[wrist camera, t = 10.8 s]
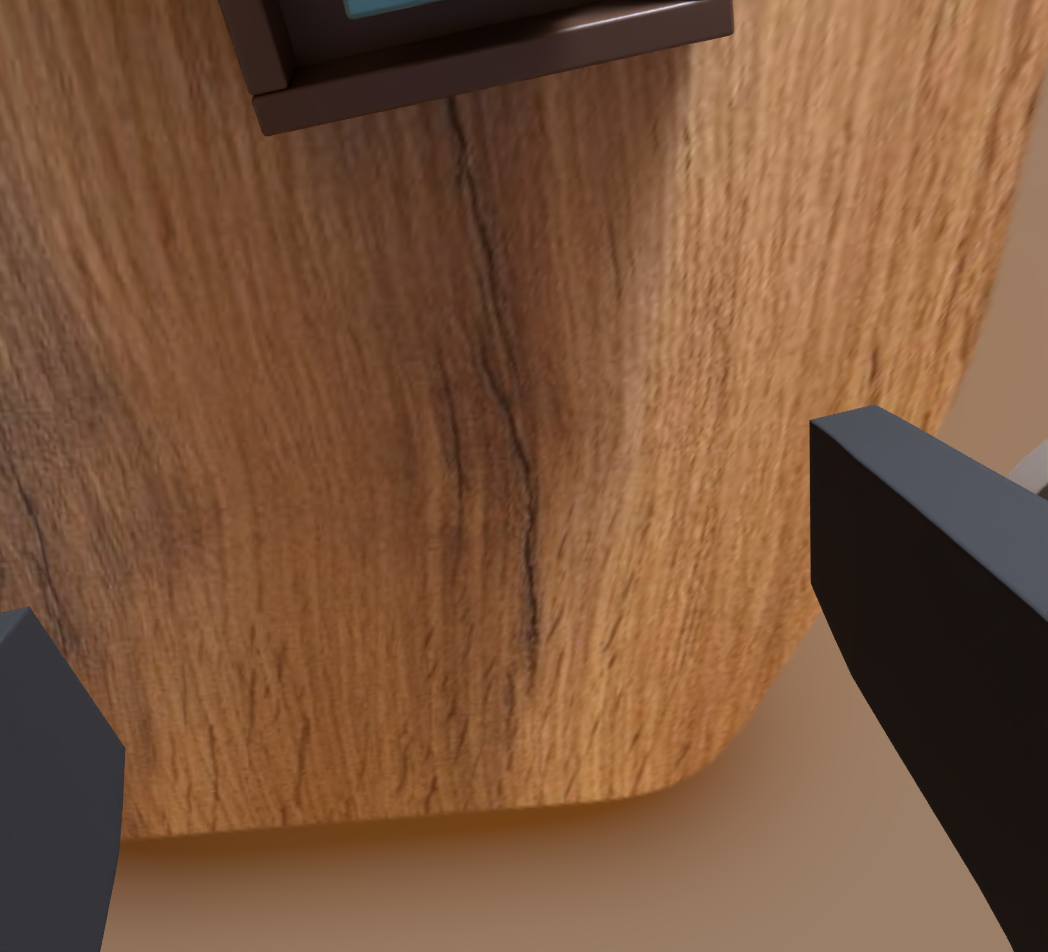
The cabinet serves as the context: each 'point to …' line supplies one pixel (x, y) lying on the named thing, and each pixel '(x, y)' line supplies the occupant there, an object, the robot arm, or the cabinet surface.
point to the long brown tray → (438, 48)
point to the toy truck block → (378, 6)
